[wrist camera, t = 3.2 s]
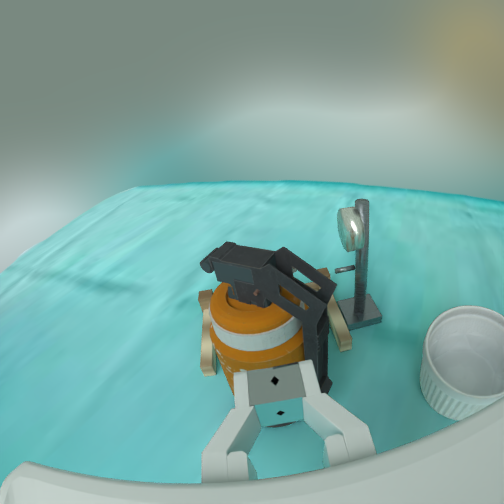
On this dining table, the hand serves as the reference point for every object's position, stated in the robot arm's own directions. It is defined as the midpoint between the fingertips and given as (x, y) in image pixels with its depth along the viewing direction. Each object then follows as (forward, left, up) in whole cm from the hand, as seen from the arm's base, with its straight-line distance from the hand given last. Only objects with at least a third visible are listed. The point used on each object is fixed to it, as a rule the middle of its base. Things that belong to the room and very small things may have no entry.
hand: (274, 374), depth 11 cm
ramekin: (-21, -7, -22) cm, 31 cm away
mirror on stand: (-13, -23, -21) cm, 34 cm away
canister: (0, -12, -22) cm, 25 cm away
